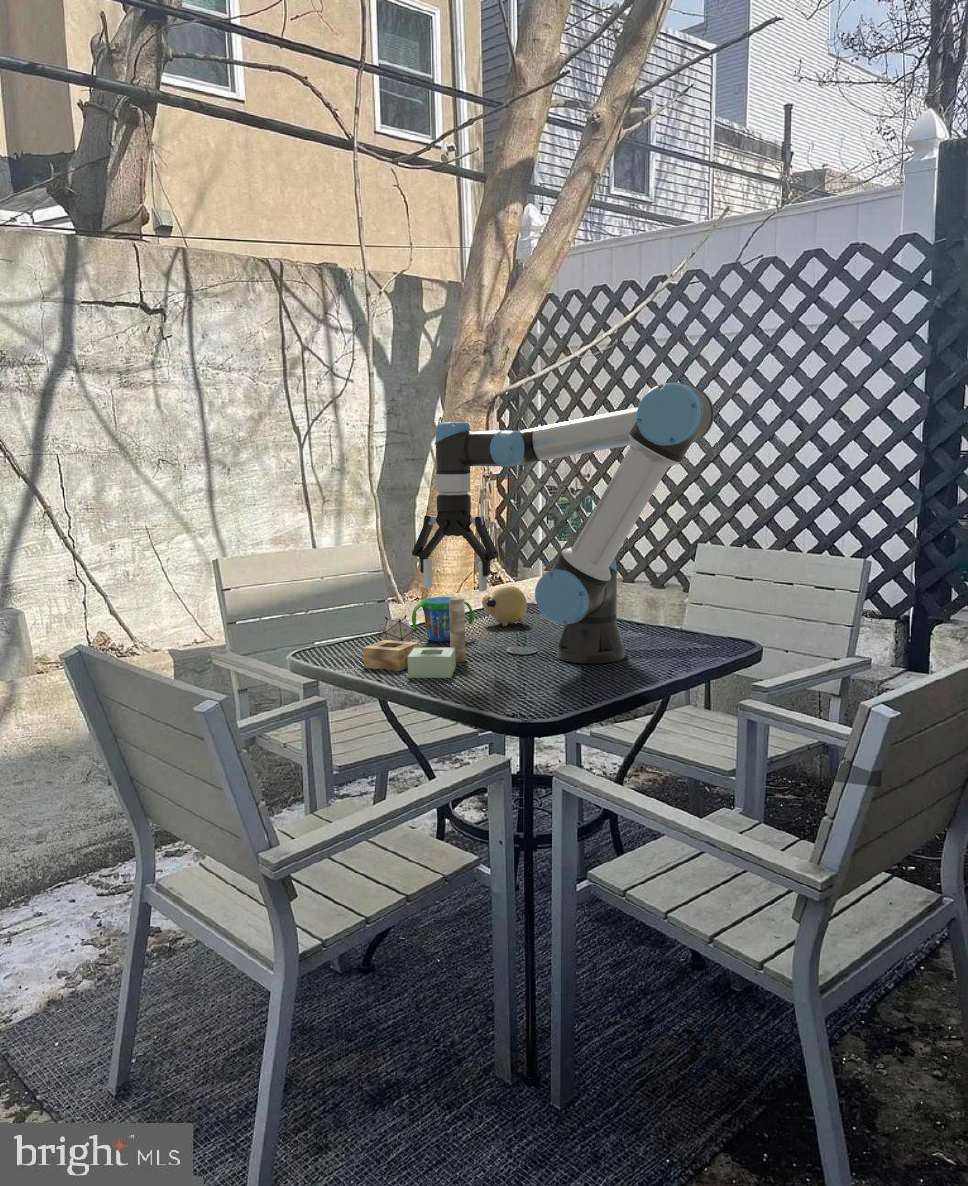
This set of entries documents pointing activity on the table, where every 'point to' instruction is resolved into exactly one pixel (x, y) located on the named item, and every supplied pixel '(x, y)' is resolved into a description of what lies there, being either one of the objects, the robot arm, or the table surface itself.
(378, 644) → the wooden square ring
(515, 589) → the beige fuzzy round body
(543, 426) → the robot arm
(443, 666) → the sage bead
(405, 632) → the game die
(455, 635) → the dowel
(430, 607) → the snack cup
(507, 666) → the table surface
